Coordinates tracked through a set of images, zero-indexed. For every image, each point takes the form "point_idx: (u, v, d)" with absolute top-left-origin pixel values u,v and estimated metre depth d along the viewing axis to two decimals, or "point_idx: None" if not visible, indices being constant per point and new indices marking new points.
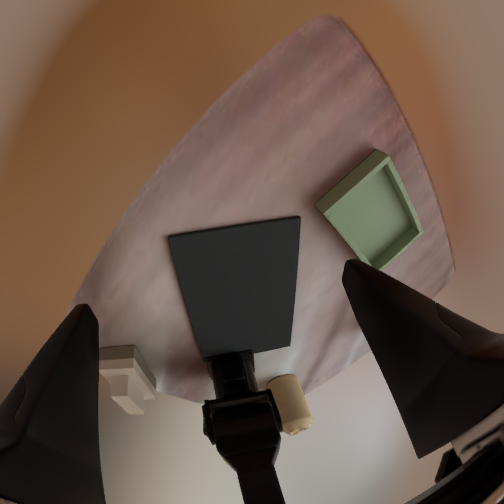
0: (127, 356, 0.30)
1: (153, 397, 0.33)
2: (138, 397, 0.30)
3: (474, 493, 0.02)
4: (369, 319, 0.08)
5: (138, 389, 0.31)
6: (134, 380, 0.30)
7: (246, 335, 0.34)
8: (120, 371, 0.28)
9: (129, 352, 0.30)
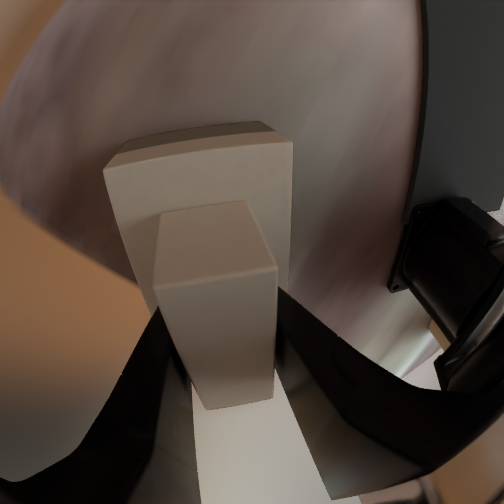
0: (246, 131, 0.08)
1: None
2: None
3: None
4: None
5: None
6: None
7: (480, 153, 0.12)
8: (219, 168, 0.07)
9: (250, 127, 0.09)
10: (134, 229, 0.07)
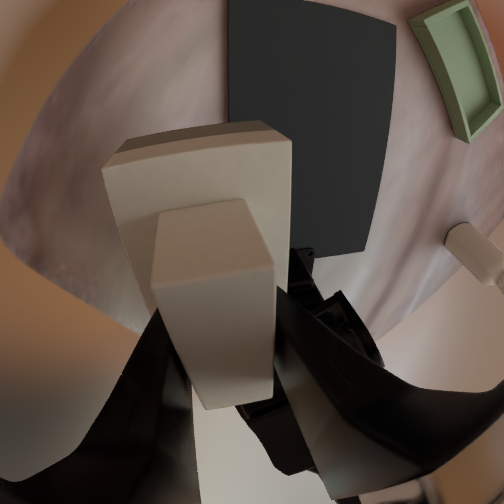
0: (245, 130, 0.08)
1: None
2: None
3: None
4: None
5: None
6: None
7: (312, 211, 0.21)
8: (218, 167, 0.07)
9: (249, 126, 0.09)
10: (133, 228, 0.07)
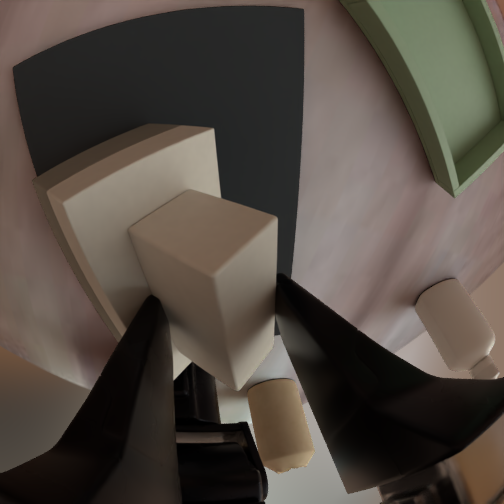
0: (156, 132, 0.08)
1: None
2: None
3: None
4: (289, 341, 0.08)
5: None
6: None
7: None
8: (167, 166, 0.07)
9: (152, 129, 0.08)
10: (106, 258, 0.06)
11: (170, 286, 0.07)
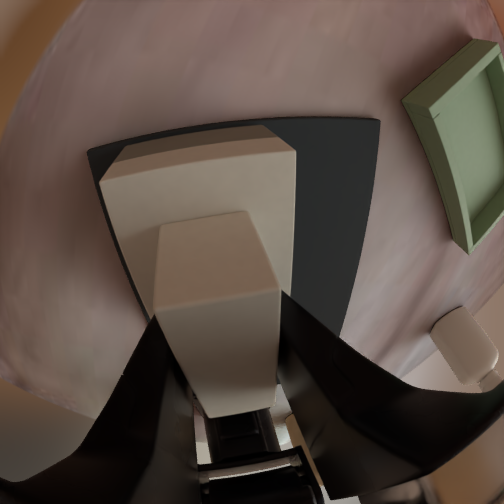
0: (247, 137, 0.08)
1: None
2: None
3: None
4: None
5: None
6: None
7: None
8: (220, 179, 0.07)
9: (251, 132, 0.08)
10: (133, 241, 0.07)
11: None
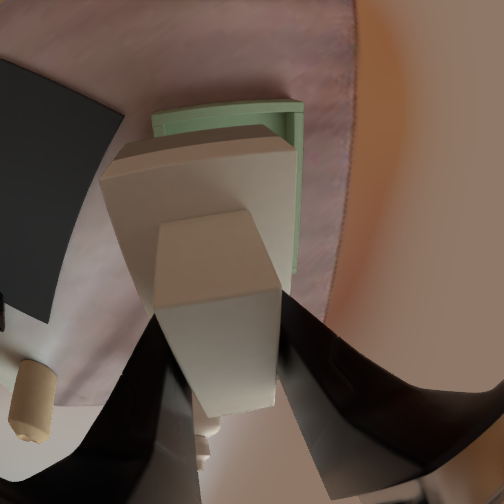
0: (248, 136, 0.08)
1: None
2: None
3: None
4: None
5: None
6: None
7: None
8: (221, 177, 0.07)
9: (252, 131, 0.08)
10: (133, 239, 0.07)
11: None
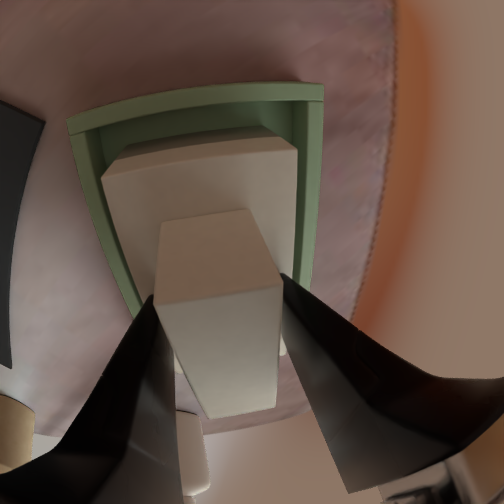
0: (249, 136, 0.08)
1: (280, 349, 0.12)
2: None
3: None
4: (290, 341, 0.08)
5: None
6: None
7: None
8: (222, 175, 0.07)
9: (253, 132, 0.08)
10: (134, 238, 0.07)
11: None
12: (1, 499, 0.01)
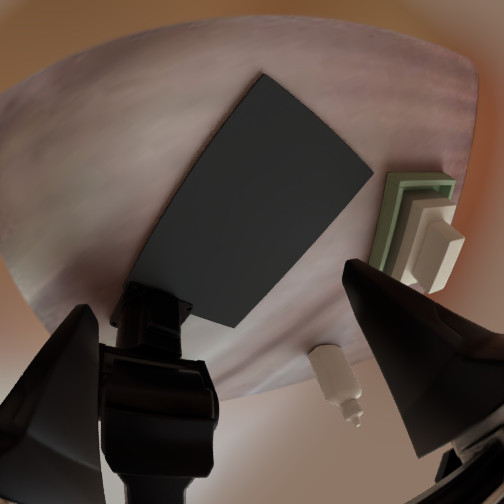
0: (439, 196, 0.22)
1: None
2: None
3: (474, 493, 0.02)
4: (369, 319, 0.08)
5: None
6: None
7: (208, 278, 0.24)
8: (443, 211, 0.20)
9: (437, 193, 0.22)
10: (421, 227, 0.21)
11: (434, 243, 0.20)
12: None
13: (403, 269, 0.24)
